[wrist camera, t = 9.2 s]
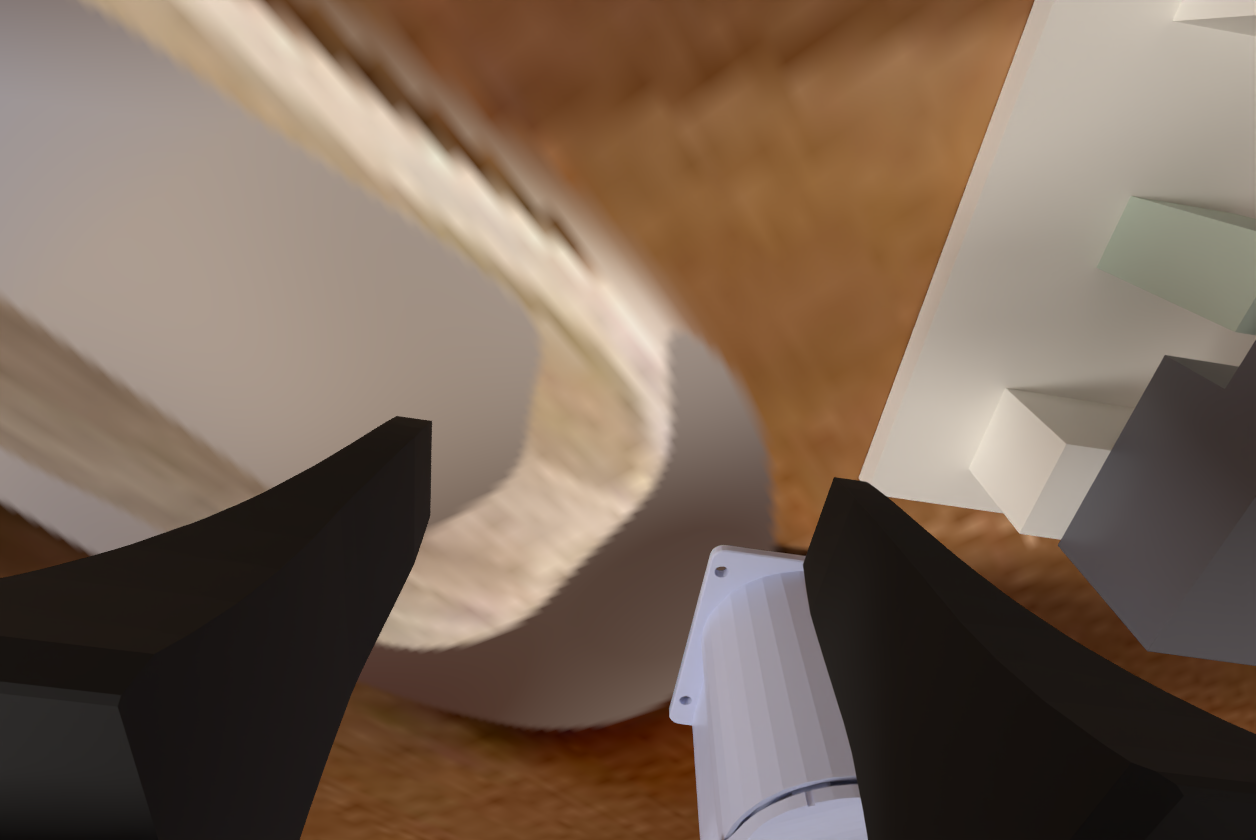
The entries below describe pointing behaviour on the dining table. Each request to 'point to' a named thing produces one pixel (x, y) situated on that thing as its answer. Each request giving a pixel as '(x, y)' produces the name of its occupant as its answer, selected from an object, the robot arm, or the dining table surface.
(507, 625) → the dining table surface
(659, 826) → the dining table surface
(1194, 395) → the grey c-shaped bracket
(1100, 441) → the stand
